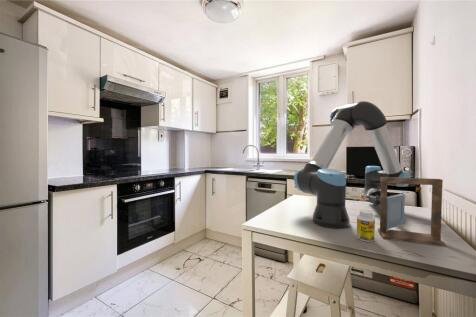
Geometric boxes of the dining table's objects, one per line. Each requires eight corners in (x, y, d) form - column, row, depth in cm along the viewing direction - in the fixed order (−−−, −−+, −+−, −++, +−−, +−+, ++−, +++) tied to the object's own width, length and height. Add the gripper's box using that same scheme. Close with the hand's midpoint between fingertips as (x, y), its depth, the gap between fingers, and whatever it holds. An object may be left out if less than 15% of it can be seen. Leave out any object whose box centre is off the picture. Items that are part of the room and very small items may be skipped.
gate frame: (382, 238, 78) (384, 178, 77) (377, 230, 85) (378, 175, 84) (445, 246, 71) (447, 180, 70) (433, 237, 79) (435, 177, 78)
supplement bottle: (358, 241, 75) (359, 213, 75) (355, 235, 81) (355, 208, 80) (376, 243, 74) (377, 214, 73) (371, 237, 79) (372, 210, 78)
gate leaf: (386, 229, 81) (387, 198, 80) (382, 228, 82) (383, 197, 82) (404, 223, 87) (404, 194, 87) (399, 222, 89) (400, 194, 88)
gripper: (390, 204, 113) (407, 217, 91) (362, 202, 117) (372, 214, 95) (390, 190, 112) (408, 200, 90) (362, 188, 117) (372, 197, 95)
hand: (389, 207), depth 93 cm, fingers closed
